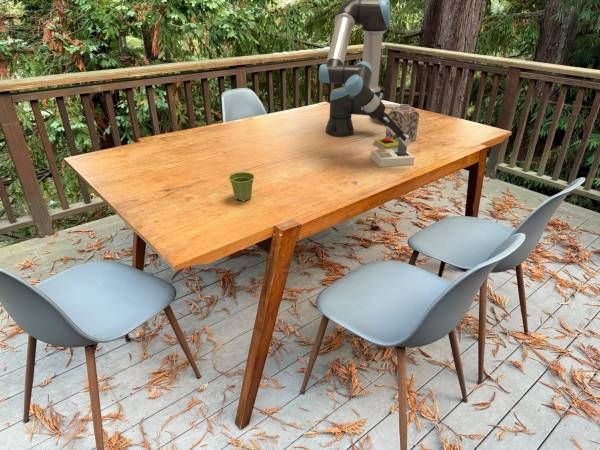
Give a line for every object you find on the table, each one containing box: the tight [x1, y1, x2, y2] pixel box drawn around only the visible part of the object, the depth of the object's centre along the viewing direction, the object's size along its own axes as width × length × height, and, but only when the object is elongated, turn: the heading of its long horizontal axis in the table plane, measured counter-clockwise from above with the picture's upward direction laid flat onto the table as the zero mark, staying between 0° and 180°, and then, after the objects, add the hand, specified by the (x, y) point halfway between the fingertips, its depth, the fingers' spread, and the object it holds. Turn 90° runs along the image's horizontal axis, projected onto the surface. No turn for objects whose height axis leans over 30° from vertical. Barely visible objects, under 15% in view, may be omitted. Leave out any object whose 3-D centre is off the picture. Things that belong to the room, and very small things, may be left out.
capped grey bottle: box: [397, 134, 409, 156], centre depth 187 cm, size 4×4×12 cm
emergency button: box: [372, 137, 399, 150], centre depth 205 cm, size 9×4×15 cm
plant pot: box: [228, 171, 256, 201], centre depth 154 cm, size 9×9×9 cm
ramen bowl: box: [383, 103, 402, 115], centre depth 242 cm, size 25×23×8 cm
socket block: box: [370, 148, 416, 168], centre depth 189 cm, size 12×16×4 cm
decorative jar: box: [384, 103, 420, 142], centre depth 211 cm, size 12×12×18 cm
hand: (401, 138), depth 184 cm, fingers open, 13 cm apart
